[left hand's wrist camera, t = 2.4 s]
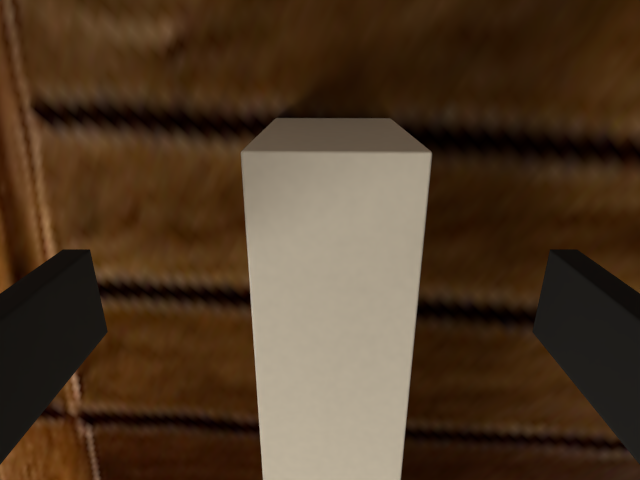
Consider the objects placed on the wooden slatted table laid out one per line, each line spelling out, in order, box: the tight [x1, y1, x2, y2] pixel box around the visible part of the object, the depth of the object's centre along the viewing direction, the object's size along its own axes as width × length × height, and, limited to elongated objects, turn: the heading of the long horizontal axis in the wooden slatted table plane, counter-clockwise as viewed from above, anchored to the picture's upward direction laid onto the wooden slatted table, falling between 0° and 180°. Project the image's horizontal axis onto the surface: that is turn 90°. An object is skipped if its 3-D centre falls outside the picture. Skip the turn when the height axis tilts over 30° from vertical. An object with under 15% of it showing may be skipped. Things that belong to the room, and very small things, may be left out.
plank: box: [241, 118, 432, 480], centre depth 20 cm, size 26×5×8 cm, turn 0°
